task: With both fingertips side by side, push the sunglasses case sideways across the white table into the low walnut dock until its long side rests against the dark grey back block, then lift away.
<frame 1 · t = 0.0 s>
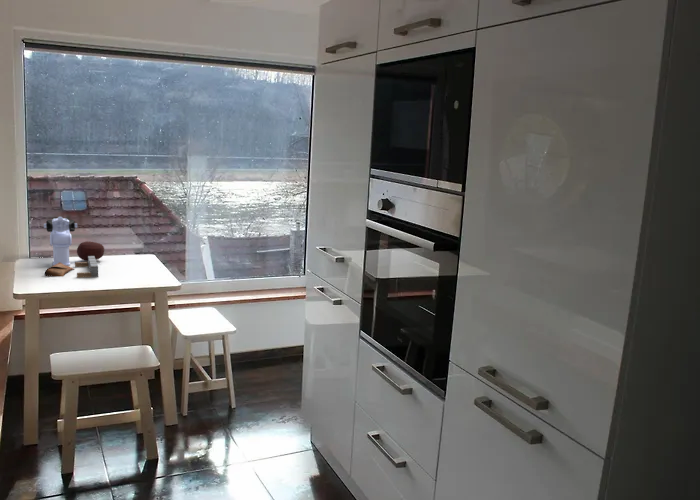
hand: (60, 226, 295), 22 cm above the table, tool horizontal, fingers open, 7 cm apart
potato: (90, 261, 327), on the table
sunglasses case: (60, 273, 298), on the table
dock: (89, 271, 303), on the table
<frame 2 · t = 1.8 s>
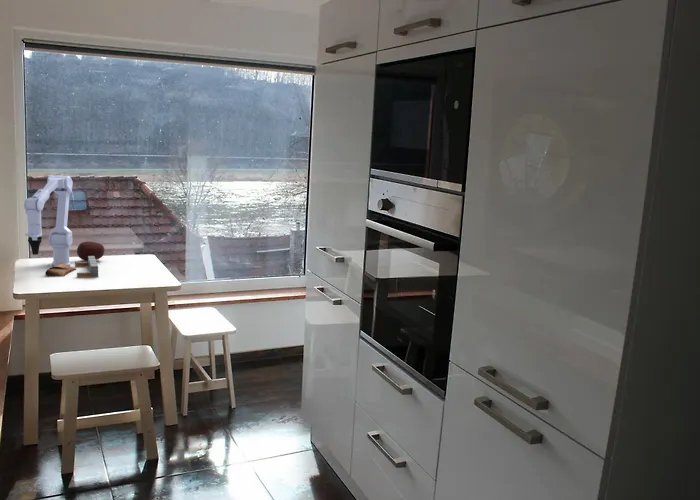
hand: (35, 253, 292), 9 cm above the table, tool pointing down, fingers open, 5 cm apart
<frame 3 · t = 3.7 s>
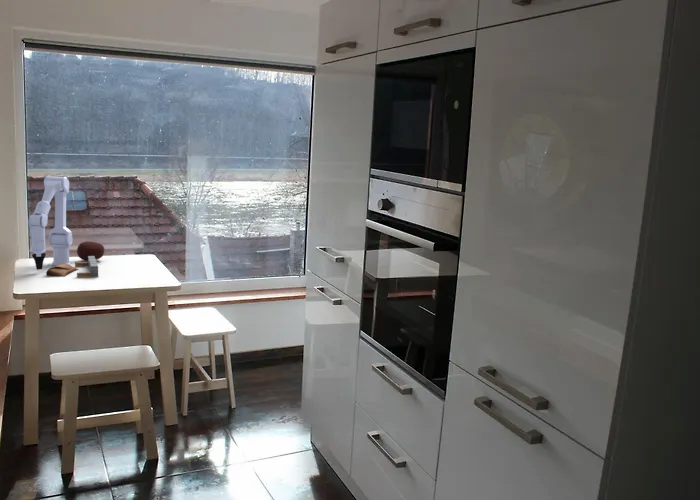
hand: (39, 269, 293), 2 cm above the table, tool pointing down, fingers closed
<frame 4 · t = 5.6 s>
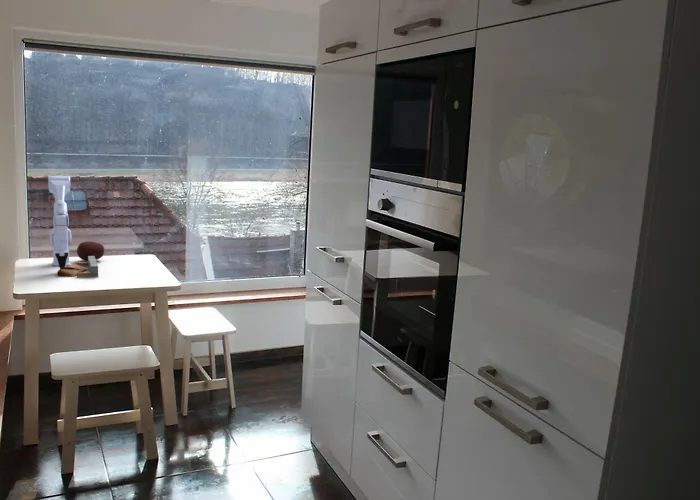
hand: (62, 268, 298), 2 cm above the table, tool pointing down, fingers closed
sunglasses case: (73, 274, 298), on the table, touching gripper
everything else where it was.
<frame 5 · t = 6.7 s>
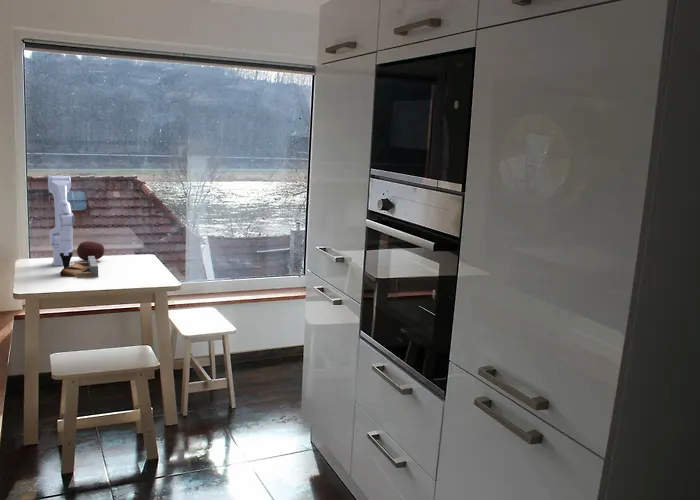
hand: (66, 268, 298), 2 cm above the table, tool pointing down, fingers closed, pressing on sunglasses case
sunglasses case: (76, 274, 298), on the table, touching dock, gripper
everything else where it was.
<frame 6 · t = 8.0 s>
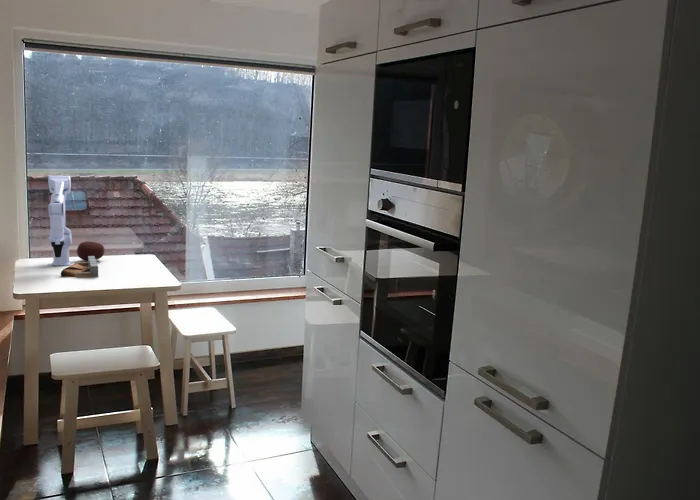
hand: (57, 257, 296), 7 cm above the table, tool pointing down, fingers closed
sunglasses case: (76, 274, 298), on the table
everything else where it was.
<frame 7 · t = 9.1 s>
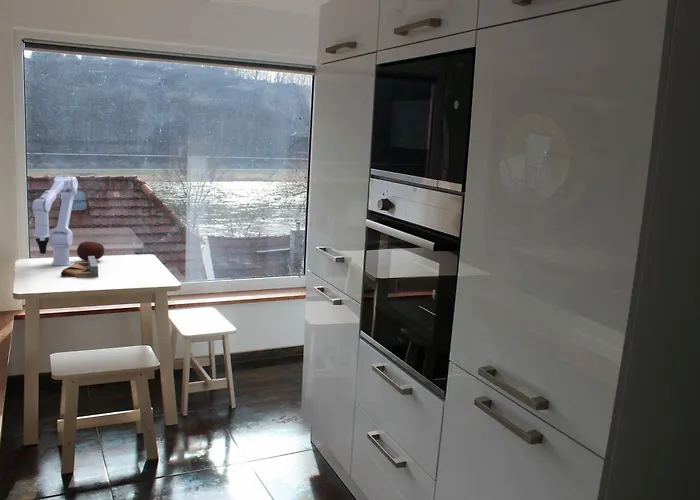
hand: (42, 253, 298), 8 cm above the table, tool pointing down, fingers closed
sunglasses case: (76, 274, 298), on the table, touching dock
everything else where it was.
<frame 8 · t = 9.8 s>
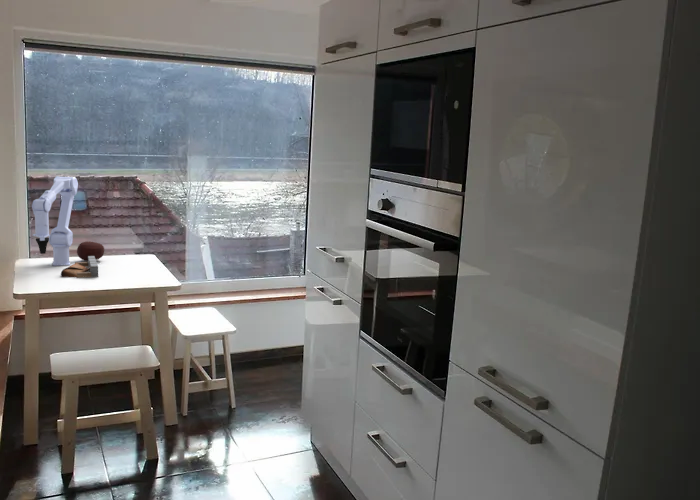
hand: (42, 253, 298), 8 cm above the table, tool pointing down, fingers closed
sunglasses case: (76, 274, 298), on the table
everything else where it was.
at the end: sunglasses case 3.3 cm from the target spot on the dock, point -0.7 cm above the dock's base; sunglasses case tilted 1°; potato moved 0.2 cm from its start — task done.
